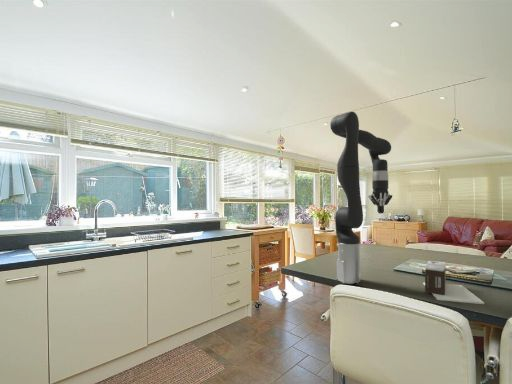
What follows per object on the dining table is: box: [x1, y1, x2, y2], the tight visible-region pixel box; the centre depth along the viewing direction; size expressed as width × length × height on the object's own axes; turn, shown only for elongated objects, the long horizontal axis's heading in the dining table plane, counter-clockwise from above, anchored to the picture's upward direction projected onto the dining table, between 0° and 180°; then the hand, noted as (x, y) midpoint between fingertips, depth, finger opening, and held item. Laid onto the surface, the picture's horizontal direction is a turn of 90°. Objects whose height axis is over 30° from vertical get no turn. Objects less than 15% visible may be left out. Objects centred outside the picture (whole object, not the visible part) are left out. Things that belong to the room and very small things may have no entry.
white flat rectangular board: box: [422, 281, 485, 305], centre depth 103 cm, size 18×14×1 cm
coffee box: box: [424, 260, 447, 295], centre depth 107 cm, size 9×6×16 cm
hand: (380, 213), depth 137 cm, fingers closed
